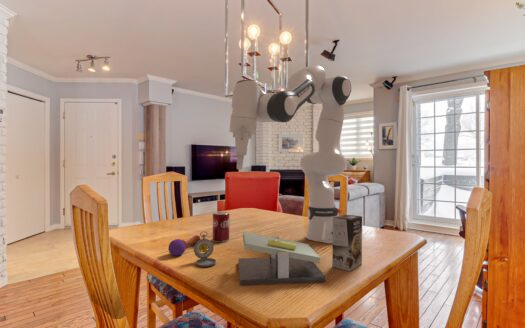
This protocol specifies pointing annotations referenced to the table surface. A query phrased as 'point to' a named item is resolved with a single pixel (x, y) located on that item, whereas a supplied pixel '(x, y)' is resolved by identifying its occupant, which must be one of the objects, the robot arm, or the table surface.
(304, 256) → the tilting platform
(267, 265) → the levelling stand
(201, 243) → the pocket watch
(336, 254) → the coffee box
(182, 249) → the kendama
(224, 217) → the soda can
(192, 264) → the table surface
